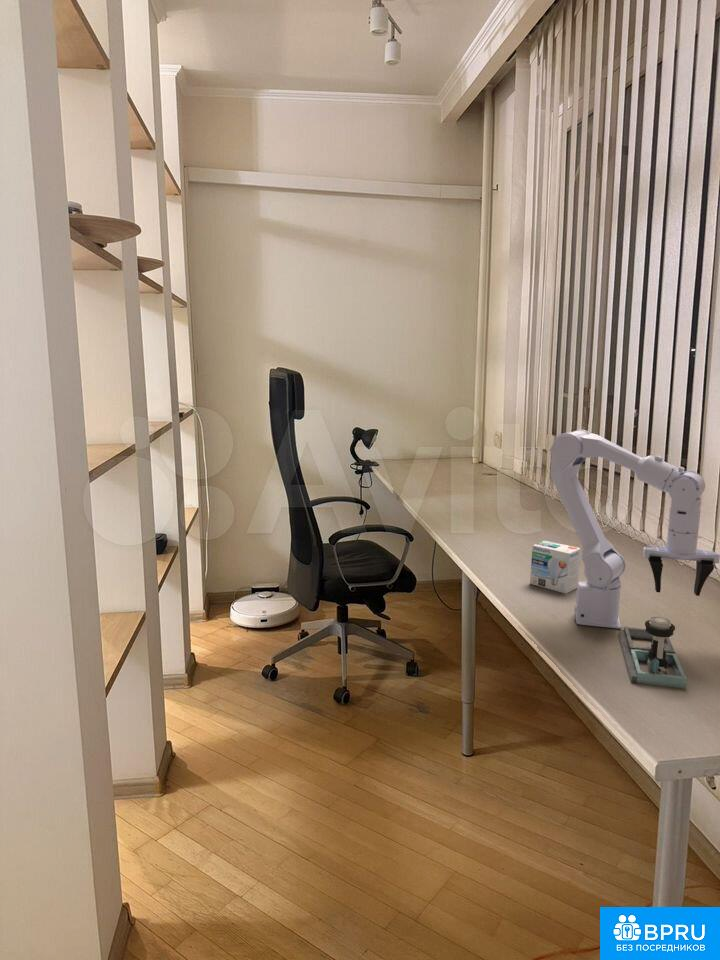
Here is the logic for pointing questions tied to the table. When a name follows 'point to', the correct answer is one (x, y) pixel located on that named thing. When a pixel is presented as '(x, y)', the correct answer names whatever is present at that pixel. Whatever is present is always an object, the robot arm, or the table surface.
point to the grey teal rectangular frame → (641, 654)
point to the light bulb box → (555, 566)
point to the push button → (658, 642)
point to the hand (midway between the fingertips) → (677, 592)
